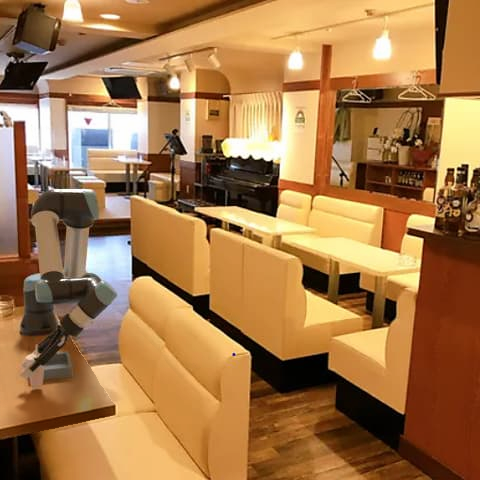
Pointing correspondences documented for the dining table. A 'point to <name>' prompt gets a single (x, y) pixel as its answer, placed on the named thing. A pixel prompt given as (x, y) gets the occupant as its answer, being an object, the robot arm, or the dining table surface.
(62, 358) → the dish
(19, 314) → the dining table surface
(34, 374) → the smoothie
